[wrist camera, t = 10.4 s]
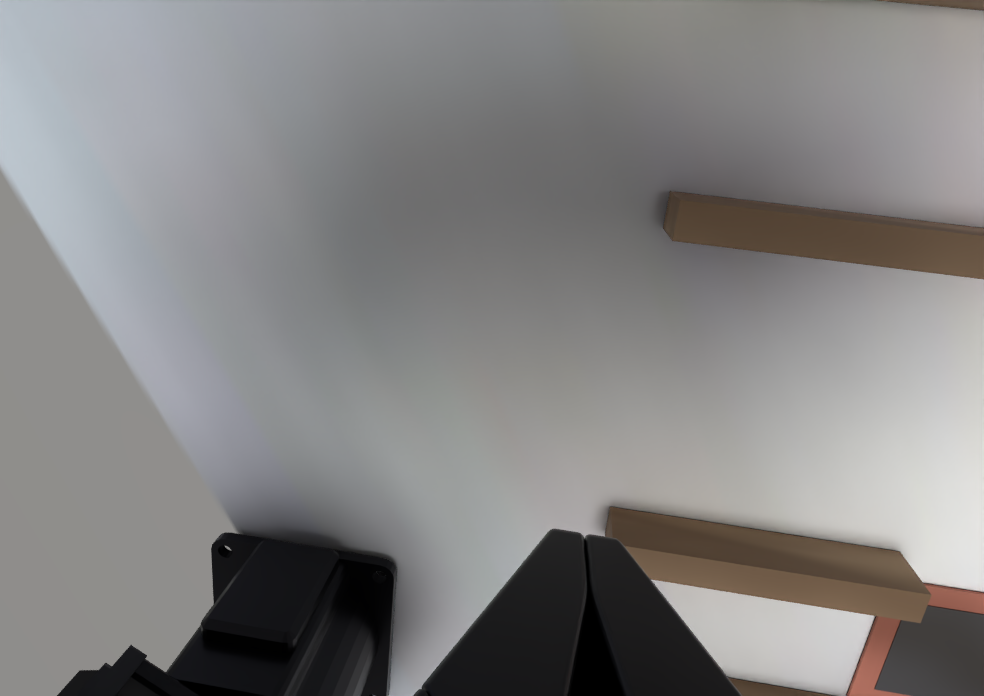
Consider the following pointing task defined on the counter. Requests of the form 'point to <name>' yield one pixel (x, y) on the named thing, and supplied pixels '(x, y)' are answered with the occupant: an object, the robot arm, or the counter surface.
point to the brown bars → (814, 562)
